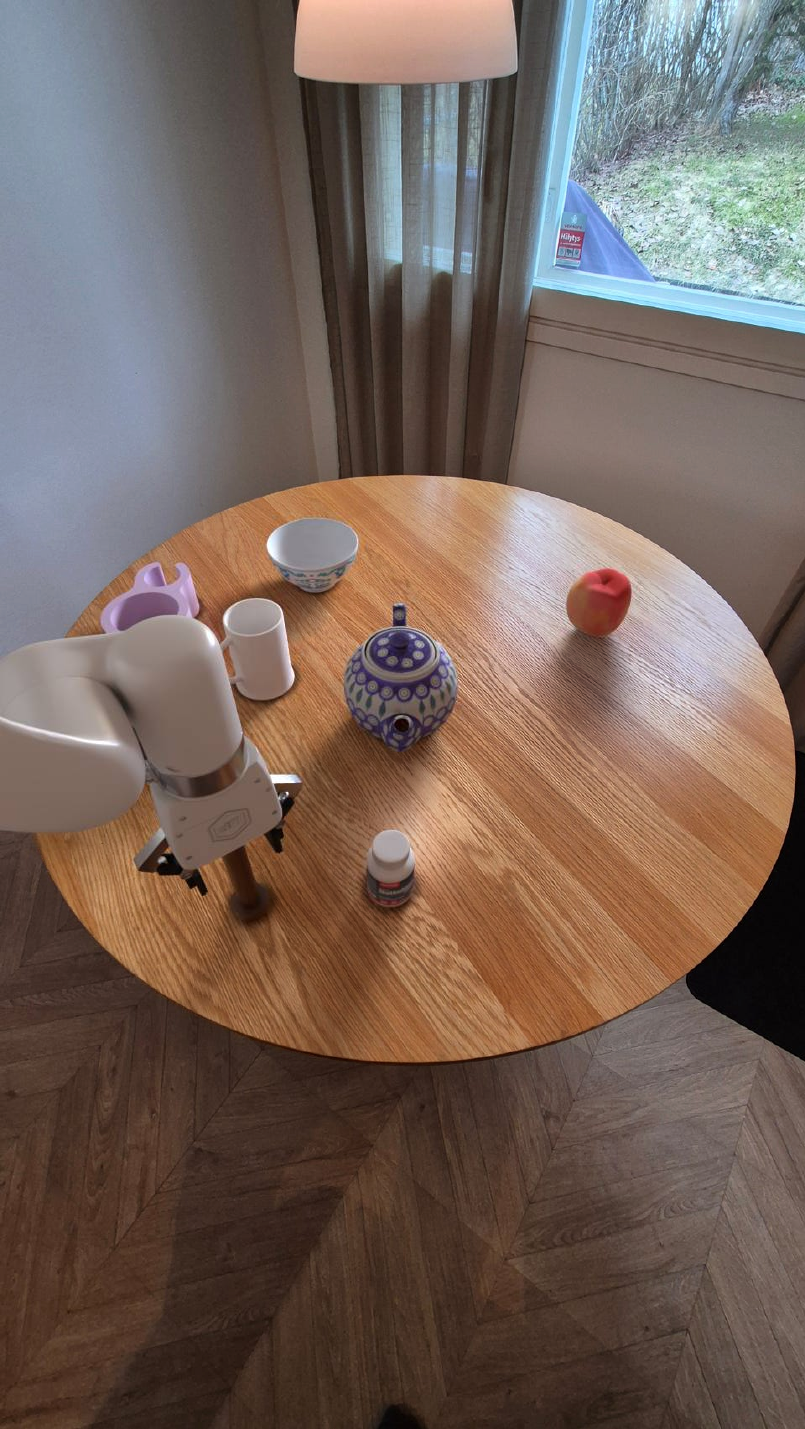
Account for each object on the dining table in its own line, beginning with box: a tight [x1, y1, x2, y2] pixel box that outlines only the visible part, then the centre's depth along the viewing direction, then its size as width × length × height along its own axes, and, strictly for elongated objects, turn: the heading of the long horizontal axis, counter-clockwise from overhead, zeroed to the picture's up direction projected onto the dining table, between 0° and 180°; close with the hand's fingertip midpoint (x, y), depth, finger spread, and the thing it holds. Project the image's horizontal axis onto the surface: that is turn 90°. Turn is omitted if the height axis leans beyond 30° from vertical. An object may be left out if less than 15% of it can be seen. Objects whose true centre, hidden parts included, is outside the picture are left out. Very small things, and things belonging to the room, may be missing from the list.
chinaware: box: [265, 517, 359, 593], centre depth 111 cm, size 15×15×8 cm
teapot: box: [343, 602, 459, 753], centre depth 88 cm, size 25×15×15 cm, turn 178°
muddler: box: [221, 844, 271, 923], centre depth 69 cm, size 4×4×14 cm
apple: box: [565, 567, 633, 638], centre depth 102 cm, size 10×10×10 cm
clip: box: [100, 561, 200, 634], centre depth 101 cm, size 20×12×7 cm, turn 178°
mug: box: [219, 597, 295, 701], centre depth 93 cm, size 12×8×12 cm
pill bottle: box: [365, 829, 416, 908], centre depth 72 cm, size 5×5×9 cm
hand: (237, 862), depth 67 cm, fingers open, 7 cm apart
